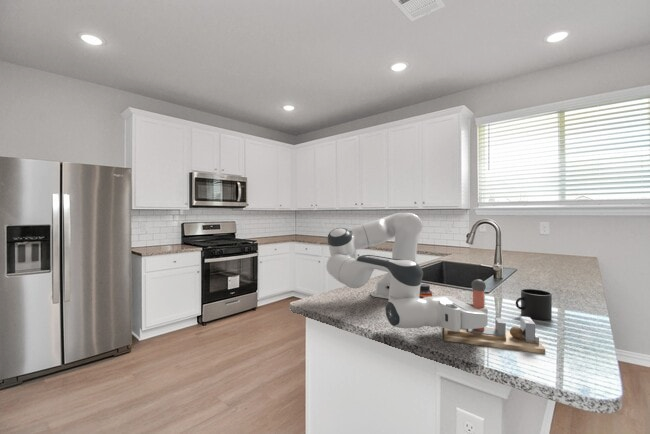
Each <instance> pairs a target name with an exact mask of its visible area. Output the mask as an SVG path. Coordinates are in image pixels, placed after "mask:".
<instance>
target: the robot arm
mask: <svg viewBox="0 0 650 434" xmlns="http://www.w3.org/2000/svg"><path fill="white" fill-rule="evenodd" d="M422 229H423V222H422V219H421V218H420V217H419V216H418V215H417V214H415V213H412V212H397V213H393V214H390V215H387V216H384V217H381V218H379V219H375V220H372V221H368V222H364V223H362V224H361V223H360V224H358V225H356V226H353V227H351V228H348V229H347V228H345V227H338V228H337V227H336V228H334V229H332V230H331V231H330V232H329V233H328V234H327V244H328V248H329V253H330V257H329V258H328V259H327V261H326V265H325V267H326V272H327V273H328V274H329V275H330V276H331V277H332V278H333V279H335V280H336V281H337V282H339V283H341V284H342V285H343V286H346V287H348V288H350V289H353V290H354V289H359V288H361V287H364V286H365V285H366V284H367V283H368V282H369V281H370V279H371V277H372V275H373V272H374V270H378V271H382V272H385V273H386V274H384V275H383V276H382V277H381V278H379V279H378V280H377V282H376V285H375V286H376V287H375V288H374V289H373V290H372V291H371V293H370V295H371V296H372V297H376V298H381V299H388V301H387V302H386V304H385V316H386V319H387V321H388V322H389V324H390V325H391V326H392V327H395V328H401V329H420V328H423V327H431V328H434V327H438V328H441V329H442V328H443V329H444V328H446V329H449V330H452V331H460V329H477V328H484V327H487V326H488V324H489V323H488V318H489V317H488V313H489V311H488V309H487V308H485V306H484V307H482V308H479V309H476V308H474V307H473V302H464V301H461V300H459V299H458V298H456V297H454V296H451V295H437V296H433V295H432V297H425V298H419V294H420V285H421V284H422V281H423V276H424V271H423V269H422V267H421V266H420V265H419V264H418V263H417V258H418V256H417V254H418V253H417V252H418V251H417V250H418V243H419V238H420V233H421V231H422ZM392 239H394V241H393V242H394V243H393V246H392V248H391V254H392V255H391V257H392V258H391V257H385V256H380V255H379V256H378V255H374V254H373V255H372V254H363V255H359V256H358V255H357V250H362V249H366V248H370V247H374V246H378V245H381V244H384V243H386V242H388V241H390V240H392Z"/></svg>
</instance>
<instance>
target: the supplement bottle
mask: <svg viewBox="0 0 650 434" xmlns="http://www.w3.org/2000/svg"><path fill="white" fill-rule="evenodd" d="M432 296H433V292H432V291H431V286H430V284H426V283H421V285H420V294H419V298H425V297H432Z"/></svg>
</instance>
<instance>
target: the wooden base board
mask: <svg viewBox="0 0 650 434" xmlns="http://www.w3.org/2000/svg"><path fill="white" fill-rule="evenodd" d="M484 328H488V327H487V326H486V327H484ZM491 328H492V329H496V327H495V328H494V327H491ZM443 341H445V342H447V341H448V342H452V343H460V344H470V345H476V346H477V345H478V346H483V347H484V346H485V347H490V348H498V349H500V348H501V349H507V350H513V351H514V350H515V351H520V352H521V351H522V352H530V353H537V354H544V355H545V354H546V347H544V346H543V345H542V343H541V342H540V341H539V345H538V344H530V343H525V341H524V340H523V338H522V337H521V338H518V339H517V338H514V337H512V336H511V334H510V329H509V330H508V329H506V337H502V336H494V335H485V334H477V333H469V332H468V329H460V331H452V330H449V329H446V328H443Z"/></svg>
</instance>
